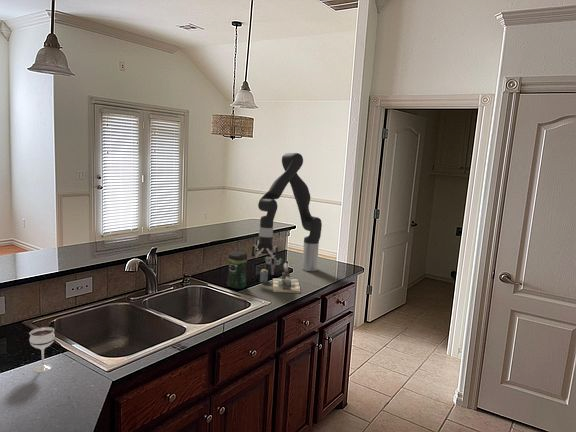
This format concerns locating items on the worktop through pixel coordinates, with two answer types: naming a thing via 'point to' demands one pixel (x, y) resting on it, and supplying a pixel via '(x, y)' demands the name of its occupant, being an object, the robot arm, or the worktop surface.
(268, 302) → the worktop surface
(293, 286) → the shaft rig
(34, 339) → the wineglass
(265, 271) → the coupling block
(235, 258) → the coffee jar
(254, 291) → the worktop surface
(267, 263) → the mechanical component
